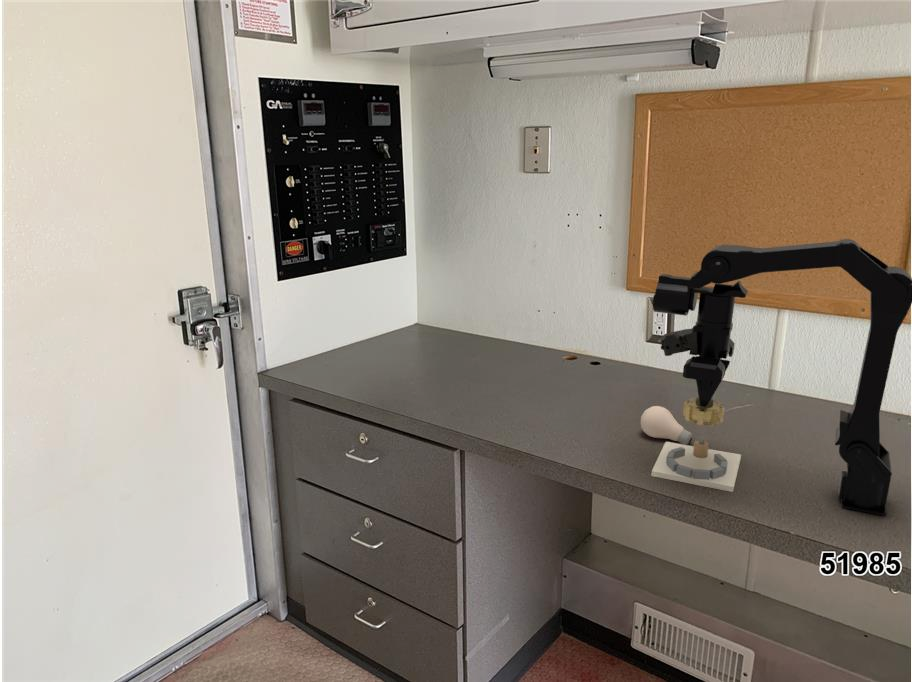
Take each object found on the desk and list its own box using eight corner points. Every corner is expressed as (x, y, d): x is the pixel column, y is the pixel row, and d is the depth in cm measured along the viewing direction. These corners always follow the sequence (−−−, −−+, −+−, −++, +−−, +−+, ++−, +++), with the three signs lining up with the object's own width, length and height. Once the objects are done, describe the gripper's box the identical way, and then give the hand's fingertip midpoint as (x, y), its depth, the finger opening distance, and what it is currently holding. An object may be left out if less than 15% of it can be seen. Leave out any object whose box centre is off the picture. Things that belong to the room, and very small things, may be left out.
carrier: (740, 459, 136) (742, 440, 135) (733, 492, 124) (735, 471, 123) (665, 446, 142) (667, 427, 141) (651, 475, 130) (652, 455, 129)
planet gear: (724, 415, 130) (729, 381, 128) (720, 428, 124) (724, 393, 122) (686, 408, 133) (690, 375, 131) (680, 421, 127) (683, 386, 125)
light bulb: (703, 421, 142) (654, 394, 147) (688, 436, 138) (638, 409, 143) (694, 444, 146) (646, 418, 151) (679, 461, 142) (631, 433, 147)
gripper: (676, 302, 135) (668, 379, 139) (656, 326, 119) (648, 412, 123) (739, 309, 130) (729, 389, 135) (726, 335, 114) (715, 424, 119)
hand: (704, 402), depth 128 cm, fingers closed on planet gear, 3 cm apart
